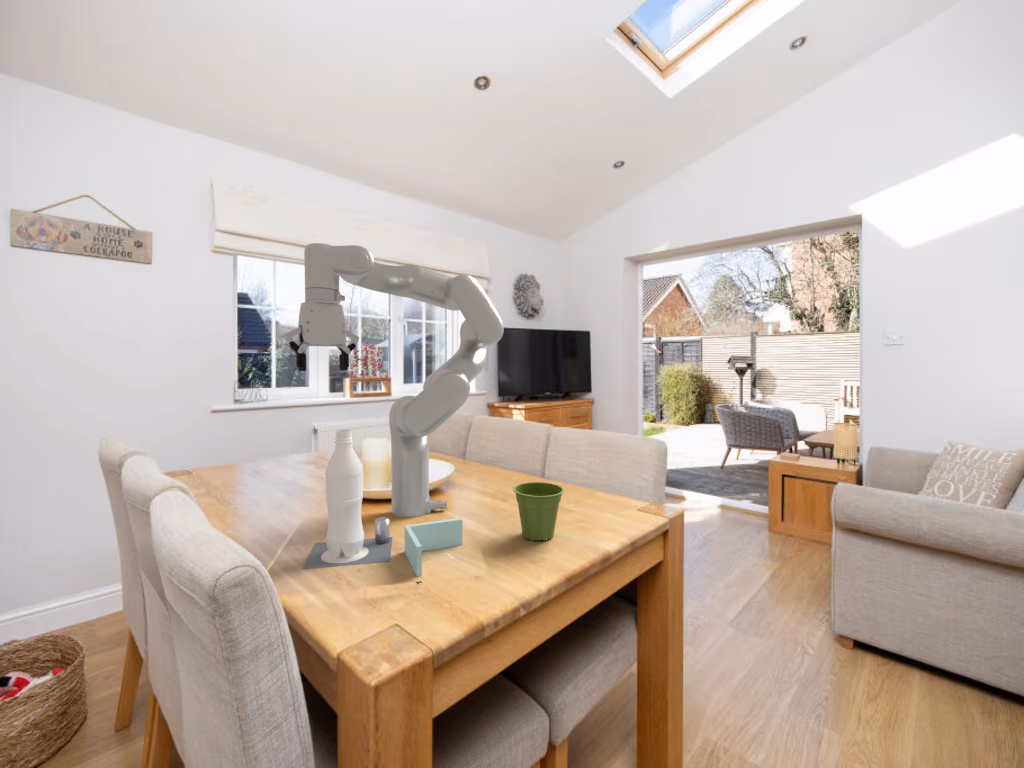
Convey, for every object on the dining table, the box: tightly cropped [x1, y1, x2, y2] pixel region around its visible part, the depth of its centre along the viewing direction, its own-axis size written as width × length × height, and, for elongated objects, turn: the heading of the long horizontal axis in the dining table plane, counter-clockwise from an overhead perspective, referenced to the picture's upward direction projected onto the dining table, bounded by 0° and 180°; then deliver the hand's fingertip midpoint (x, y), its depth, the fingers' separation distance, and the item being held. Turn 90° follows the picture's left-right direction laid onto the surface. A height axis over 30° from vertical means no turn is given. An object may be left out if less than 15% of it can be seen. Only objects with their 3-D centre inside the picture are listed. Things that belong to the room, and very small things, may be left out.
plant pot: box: [512, 481, 565, 541], centre depth 107 cm, size 12×12×11 cm
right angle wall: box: [404, 517, 463, 585], centre depth 91 cm, size 12×12×8 cm
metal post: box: [374, 516, 391, 545], centre depth 100 cm, size 3×3×5 cm
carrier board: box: [301, 536, 393, 570], centre depth 95 cm, size 16×13×2 cm
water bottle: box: [324, 429, 365, 558], centre depth 93 cm, size 7×7×25 cm
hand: (323, 370), depth 110 cm, fingers open, 9 cm apart
